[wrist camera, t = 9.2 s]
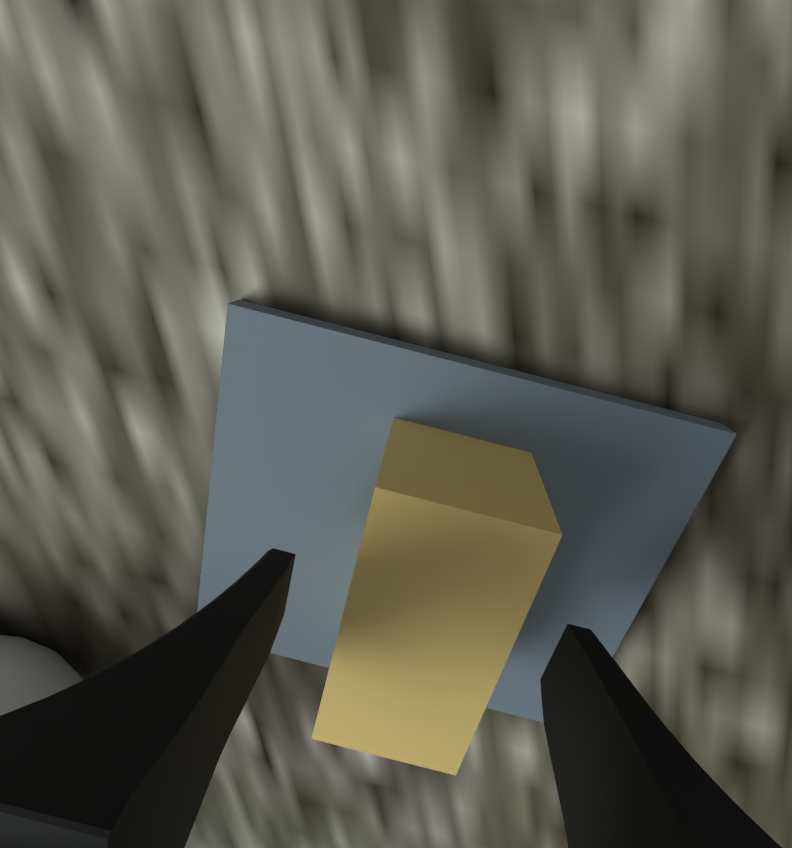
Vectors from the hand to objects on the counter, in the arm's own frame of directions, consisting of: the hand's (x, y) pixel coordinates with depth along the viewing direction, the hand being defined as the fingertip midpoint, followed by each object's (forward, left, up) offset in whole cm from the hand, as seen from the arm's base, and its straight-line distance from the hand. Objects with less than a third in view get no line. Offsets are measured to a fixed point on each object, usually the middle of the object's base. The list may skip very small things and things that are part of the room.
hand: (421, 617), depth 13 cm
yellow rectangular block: (0, 0, -3) cm, 3 cm away
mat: (0, 0, -4) cm, 4 cm away
